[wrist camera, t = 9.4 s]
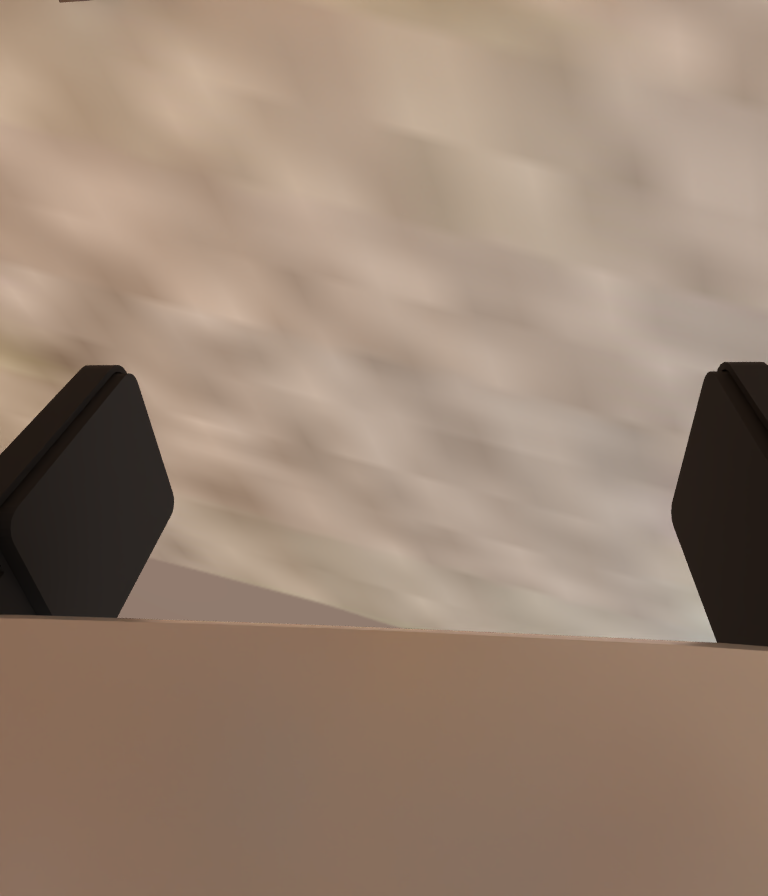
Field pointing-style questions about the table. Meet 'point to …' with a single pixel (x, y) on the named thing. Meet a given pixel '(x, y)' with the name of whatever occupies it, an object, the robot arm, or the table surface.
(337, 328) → the table surface
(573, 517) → the table surface
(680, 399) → the table surface
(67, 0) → the t dock
